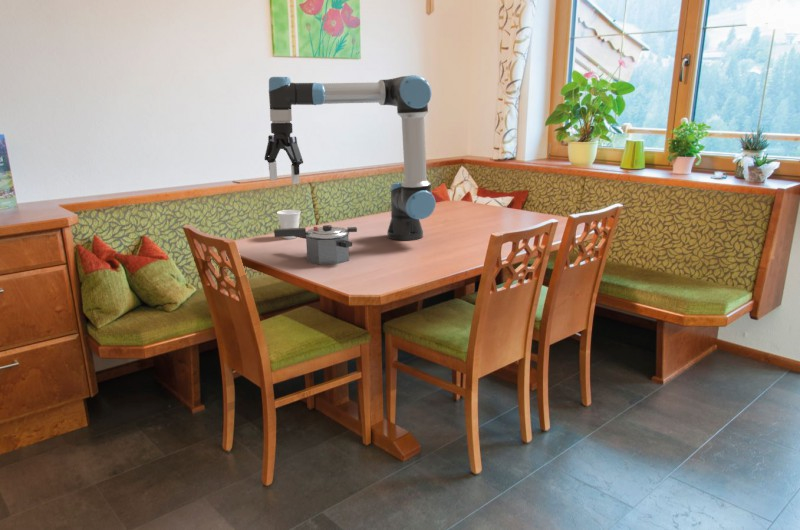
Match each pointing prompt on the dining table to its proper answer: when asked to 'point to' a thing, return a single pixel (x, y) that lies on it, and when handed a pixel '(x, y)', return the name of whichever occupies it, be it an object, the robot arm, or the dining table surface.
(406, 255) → the dining table surface
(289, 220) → the cup
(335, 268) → the dining table surface
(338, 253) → the cooker pot
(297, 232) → the lid
